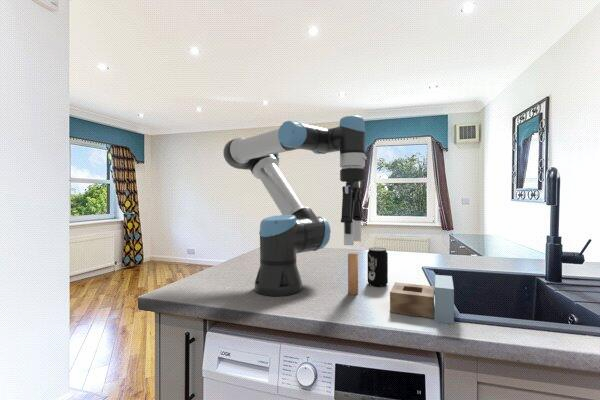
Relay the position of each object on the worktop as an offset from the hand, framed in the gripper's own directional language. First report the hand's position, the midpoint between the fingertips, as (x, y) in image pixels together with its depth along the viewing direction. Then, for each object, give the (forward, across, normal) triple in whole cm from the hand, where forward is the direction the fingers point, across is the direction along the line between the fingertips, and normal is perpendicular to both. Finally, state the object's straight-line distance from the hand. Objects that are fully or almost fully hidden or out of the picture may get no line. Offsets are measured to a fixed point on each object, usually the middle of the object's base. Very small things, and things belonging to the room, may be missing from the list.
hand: (352, 243), depth 94 cm
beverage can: (+16, +13, -5) cm, 21 cm away
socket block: (+15, -7, -18) cm, 24 cm away
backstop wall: (+15, -7, -25) cm, 30 cm away
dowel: (+15, 0, 0) cm, 15 cm away
